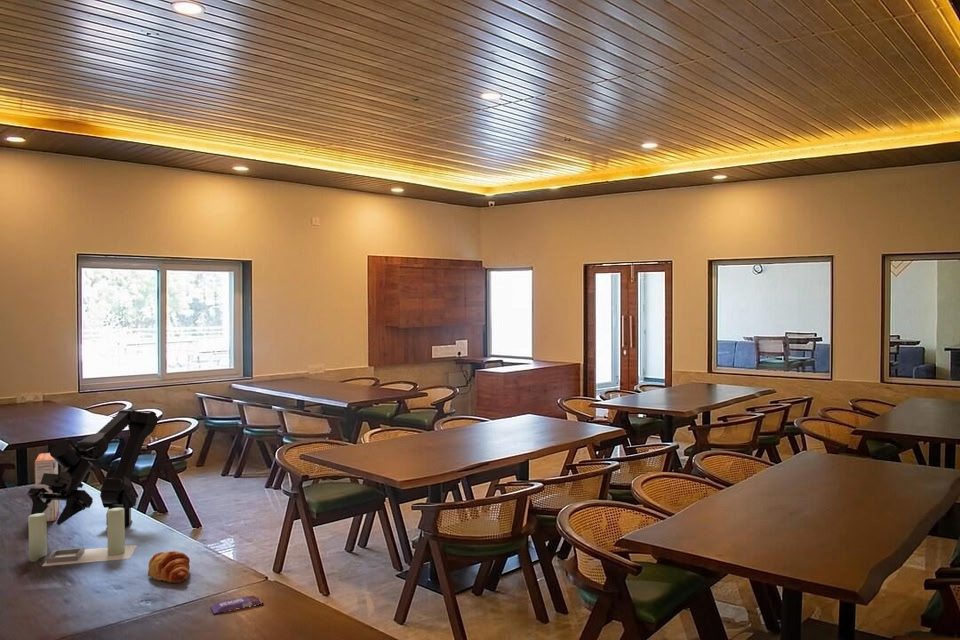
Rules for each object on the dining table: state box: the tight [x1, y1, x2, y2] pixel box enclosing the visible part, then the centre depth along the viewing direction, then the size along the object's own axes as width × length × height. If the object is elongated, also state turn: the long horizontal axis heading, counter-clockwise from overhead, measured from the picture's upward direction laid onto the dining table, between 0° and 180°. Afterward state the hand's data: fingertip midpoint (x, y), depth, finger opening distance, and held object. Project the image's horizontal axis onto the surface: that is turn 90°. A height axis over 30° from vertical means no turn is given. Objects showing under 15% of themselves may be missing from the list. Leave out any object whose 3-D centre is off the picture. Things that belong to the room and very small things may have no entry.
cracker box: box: [34, 452, 60, 523], centre depth 251 cm, size 14×6×21 cm, turn 25°
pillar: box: [27, 513, 48, 563], centre depth 209 cm, size 4×4×12 cm
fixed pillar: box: [106, 508, 126, 556], centre depth 211 cm, size 4×4×12 cm
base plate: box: [41, 544, 138, 567], centre depth 210 cm, size 22×12×2 cm, turn 106°
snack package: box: [210, 595, 263, 614], centre depth 176 cm, size 12×2×5 cm
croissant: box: [147, 550, 191, 584], centre depth 197 cm, size 21×10×8 cm, turn 42°
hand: (44, 523), depth 211 cm, fingers open, 9 cm apart
